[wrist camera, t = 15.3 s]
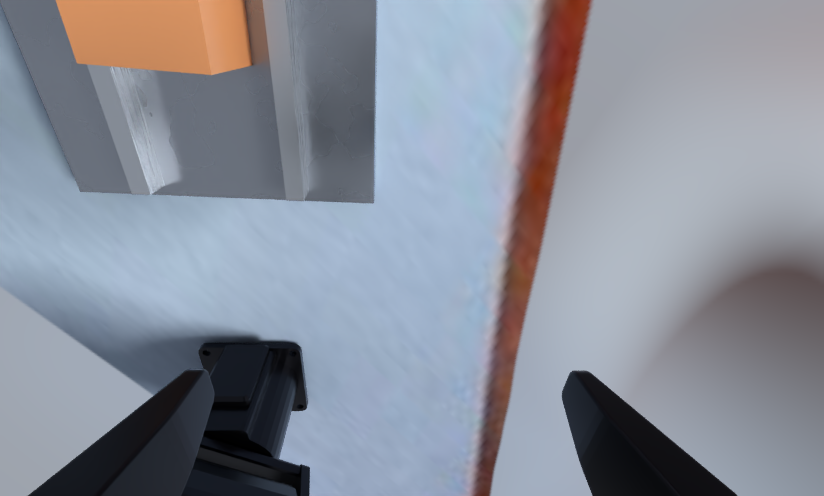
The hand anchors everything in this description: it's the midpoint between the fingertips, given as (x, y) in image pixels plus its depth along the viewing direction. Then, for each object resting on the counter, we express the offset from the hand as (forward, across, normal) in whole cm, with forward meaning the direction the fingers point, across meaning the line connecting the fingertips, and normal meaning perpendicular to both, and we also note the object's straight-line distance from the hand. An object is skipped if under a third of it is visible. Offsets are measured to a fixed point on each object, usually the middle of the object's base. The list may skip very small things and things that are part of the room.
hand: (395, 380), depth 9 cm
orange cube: (+11, +8, -8) cm, 16 cm away
